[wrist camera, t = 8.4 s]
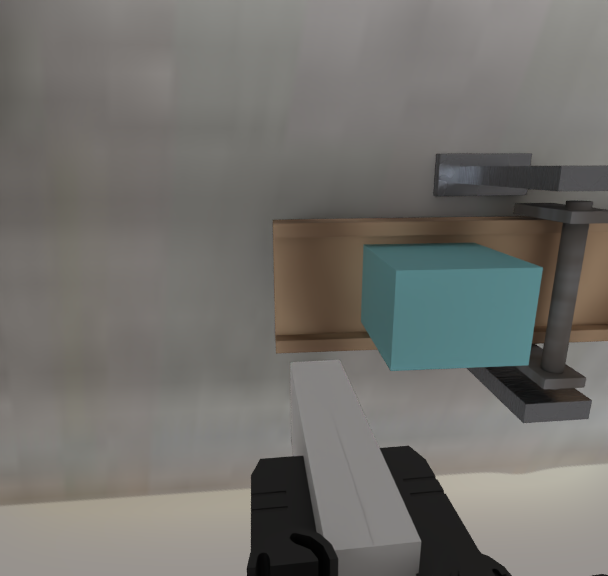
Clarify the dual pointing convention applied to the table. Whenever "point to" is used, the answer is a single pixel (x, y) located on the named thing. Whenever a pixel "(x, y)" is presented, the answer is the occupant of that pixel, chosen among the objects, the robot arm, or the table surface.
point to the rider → (448, 305)
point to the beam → (482, 230)
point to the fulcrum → (515, 181)
